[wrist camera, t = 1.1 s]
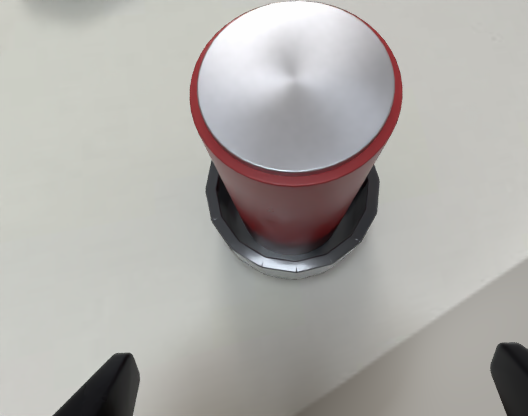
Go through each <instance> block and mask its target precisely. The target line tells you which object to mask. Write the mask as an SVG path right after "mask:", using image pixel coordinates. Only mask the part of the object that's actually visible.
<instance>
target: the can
mask: <svg viewBox="0 0 528 416" xmlns="http://www.w3.org/2000/svg"><path fill="white" fill-rule="evenodd" d="M401 104H402V81H401V74H400V71H399V67H398V64H397V61H396V59H395V57H394V55H393V53H392V51H391V49H390V48H389V46H388V45H387V43H386V42H385V40H384V39H383V38H382V37H381V36H380V35H379V34H378V33H377V31H376V30H374V29H373V28H372V27H371V26H370V25H369V24H367V23H366V22H365V21H363V20H362V19H360V18H359V17H357V16H355V15H354V14H352V13H350V12H348V11H346V10H343V9H340V8H338V7H335V6H332V5H328V4H324V3H319V2H312V1H283V2H278V3H272V4H268V5H265V6H261V7H258V8H255V9H253V10H251V11H248V12H246V13H244V14H242V15H240V16H239V17H237V18H235V19H234V20H232V21H231V22H229V23H228V24H227V25H225V26H224V27H223V28H222V29H221V30H220V31H218V32H217V33H216V34H215V35H214V37H213V38H212V39H211V40H210V41H209V42H208V44H207V45H206V47H205V48H204V50H203V51H202V53H201V54H200V57H199V59H198V61H197V63H196V65H195V68H194V71H193V75H192V79H191V85H190V107H191V113H192V117H193V120H194V124H195V126H196V128H197V131H198V133H199V135H200V137H201V139H202V141H203V143H204V145H205V147H206V149H207V151H208V153H209V155H210V157H211V159H212V161H213V163H214V165H215V167H216V169H217V171H218V173H219V175H220V177H221V179H222V181H223V183H224V185H225V187H226V189H227V191H228V193H229V195H230V197H231V199H232V201H233V203H234V205H235V207H236V209H237V211H238V213H239V215H240V217H241V219H242V221H243V223H244V225H245V227H246V229H247V230H248V232H249V233H250V235H251V236H252V237H253V238H254V240H255V241H257V242H258V243H259V244H260V245H261V246H263V247H264V248H266V249H268V250H270V251H272V252H275V253H279V254H283V255H299V254H305V253H308V252H311V251H313V250H315V249H317V248H318V247H320V246H322V245H323V244H324V243H325V242H326V241H328V239H329V238H330V237H331V236H332V235H333V233H334V232H335V230H336V228H337V227H338V225H339V223H340V222H341V220H342V218H343V216H344V215H345V213H346V211H347V210H348V208H349V206H350V204H351V203H352V201H353V199H354V198H355V196H356V194H357V192H358V191H359V189H360V187H361V186H362V184H363V182H364V180H365V179H366V177H367V175H368V174H369V172H370V170H371V168H372V167H373V165H374V163H375V162H376V160H377V158H378V156H379V155H380V153H381V151H382V149H383V148H384V146H385V144H386V143H387V141H388V139H389V137H390V136H391V134H392V132H393V130H394V128H395V126H396V124H397V121H398V117H399V114H400V111H401Z"/></svg>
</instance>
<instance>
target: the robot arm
mask: <svg viewBox="0 0 528 416" xmlns="http://www.w3.org/2000/svg"><path fill="white" fill-rule="evenodd" d="M490 369H491V374H492V377H493V380H494V382H495V385H496V388H497V390H498V393H499V395H500V398H501V401H502V403H503V406H504V409H505V411H506V414H507V416H528V349H526V348H525V347H524V346H522V345H521V344H519V343H515V342H510V343H500V344H498V346H497V348H496V351H495V354H494V357H493V359H492V362H491V367H490ZM139 382H140V374H139V371H138V368H137V365H136V362H135V360H134V357H133V355H132V354H131V353H116V354H114V355H113V356H112V357H111V358H110V359H109V360H108V361H107V362H106V363H105V364H104V365H103V366H102V367H101V368H100V369H99V370H98V371H97V372H96V373H95V374H94V375H93V376H92V377H91V378H90V379H89V380H88V381H87V382H86V383H85V384H84V385H83V386H82V387H81V388H80V389H79V390H78V391H77V392H76V393H75V394H74V395H73V396H72V397H71V398H70V399H69V400H68V401H67V402H66V403H65V404H64V405H63V406H62V407H61V408H60V409H59V410H58V411H57V412H56V413H55V414H54V415H53V416H133V412H134V407H135V402H136V397H137V392H138V387H139Z"/></svg>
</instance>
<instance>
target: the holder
mask: <svg viewBox="0 0 528 416" xmlns="http://www.w3.org/2000/svg"><path fill="white" fill-rule="evenodd" d="M379 183H380V181H379V177H378V174H377V171H376V168H375V166H374V165H373V167H372V168H371V170H370V172H369V174H368V175H367V177H366V179H365V180H364V182H363V184H362V186H361V187H360V189H359V191H358V192H357V194H356V196H355V198H354V199H353V201H352V203H351V204H350V206H349V208H348V210H347V211H346V213H345V215H344V216H343V218H342V220H341V222H340V223H339V225H338V227H337V228H336V230H335V232H334V233H333V235H332V236H331V237H330V238H329V239H328V241H326V242H325V243H324V244H323V245H322V246H320V247H318V248H317V249H315V250H313V251H311V252H308V253H305V254H299V255H283V254H279V253H275V252H272V251H270V250H268V249H266V248H264V247H263V246H261V245H260V244H259V243H258V242H257V241H255V240H254V238H253V237H252V236H251V235H250V233H249V232H248V230H247V229H246V227H245V225H244V223H243V221H242V219H241V217H240V215H239V213H238V211H237V209H236V207H235V205H234V203H233V201H232V199H231V197H230V195H229V193H228V191H227V189H226V187H225V185H224V183H223V181H222V179H221V177H220V175H219V173H218V171H217V169H216V167H215V165H214V163H213V161H211V166H210V170H209V175H208V180H207V184H206V196H207V201H208V206H209V211H210V216H211V221H212V223H213V224H214V226H215V227H216V229H217V230H218V232H219V233H220V234H221V236H222V237H223V239H224V240H225V241H226V243H227V244H228V246H229V247H230V248H231V250H232V251H233V252H234V253H235V254H236V255H237V256H238V257H239V258H240V259H241V260H242V261H244V262H245V263H247V264H248V265H250V266H251V267H253V268H254V269H256V270H258V271H260V272H261V273H263V274H265V275H269V276H274V277H278V278H286V279H300V278H306V277H310V276H314V275H317V274H320V273H324V272H326V271H327V270H329V269H330V268H331V267H333V266H334V265H335V264H337V263H338V262H339V261H340V260H342V259H343V258H344V257H346V256H347V255H348V254H349V253H350V252H351V251H352V250H354V249H355V248H356V247H357V246H358V245H359V244H360V243H361V241H362V240H363V238H364V236H365V234H366V232H367V231H368V229H369V227H370V225H371V223H372V222H373V220H374V218H375V216H376V214H377V207H378V195H379Z"/></svg>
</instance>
